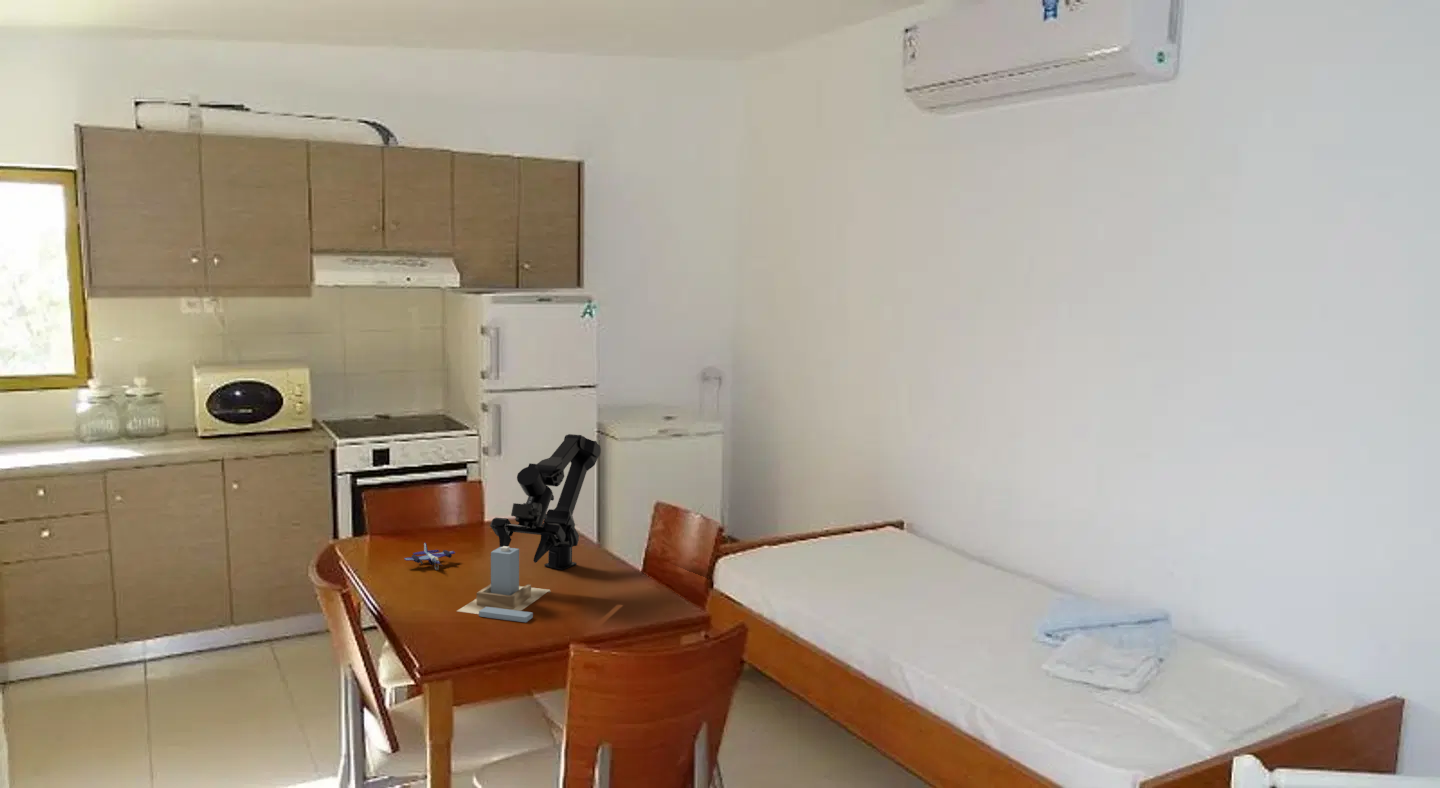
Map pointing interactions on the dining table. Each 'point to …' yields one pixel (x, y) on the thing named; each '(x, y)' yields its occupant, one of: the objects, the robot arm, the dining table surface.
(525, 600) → the jig
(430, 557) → the toy airplane
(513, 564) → the blue-grey rectangular block
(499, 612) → the light blue bar
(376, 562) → the dining table surface
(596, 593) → the dining table surface
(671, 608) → the dining table surface
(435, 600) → the dining table surface
